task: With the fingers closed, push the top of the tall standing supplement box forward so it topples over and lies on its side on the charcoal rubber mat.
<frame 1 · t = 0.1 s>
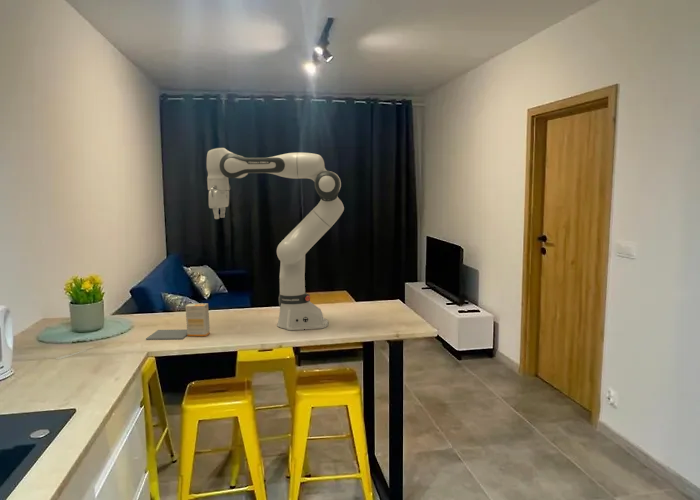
hand: (219, 218, 223), 48 cm above the worktop, tool pointing down, fingers open, 8 cm apart
supplement box: (198, 335, 215), on the worktop
rubber mat: (170, 335, 216), on the worktop
butter knife: (87, 351, 197), on the worktop
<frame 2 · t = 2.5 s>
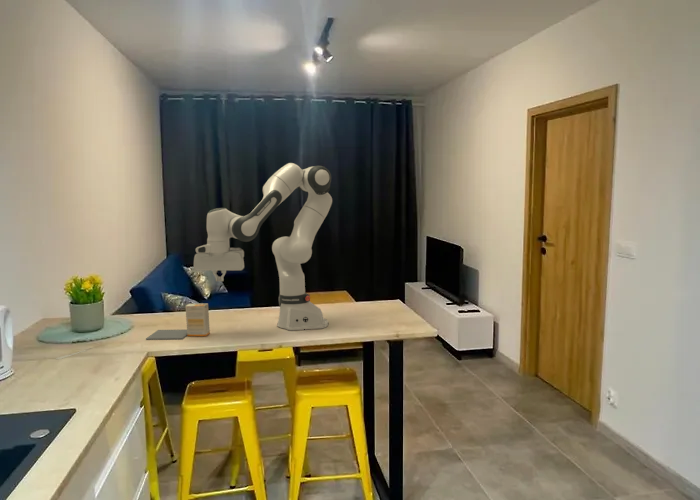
hand: (219, 281, 212), 23 cm above the worktop, tool pointing down, fingers closed
nothing on the worktop moved.
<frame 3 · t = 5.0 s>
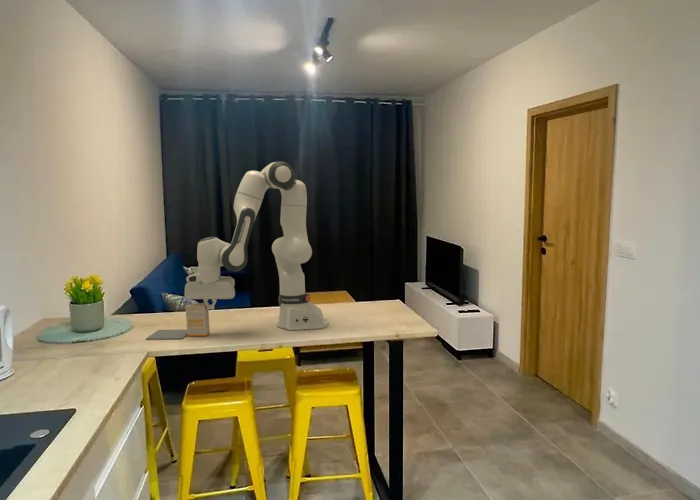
hand: (210, 309, 214), 11 cm above the worktop, tool pointing down, fingers closed
supplement box: (198, 335, 215), on the worktop, touching gripper
everything else where it was.
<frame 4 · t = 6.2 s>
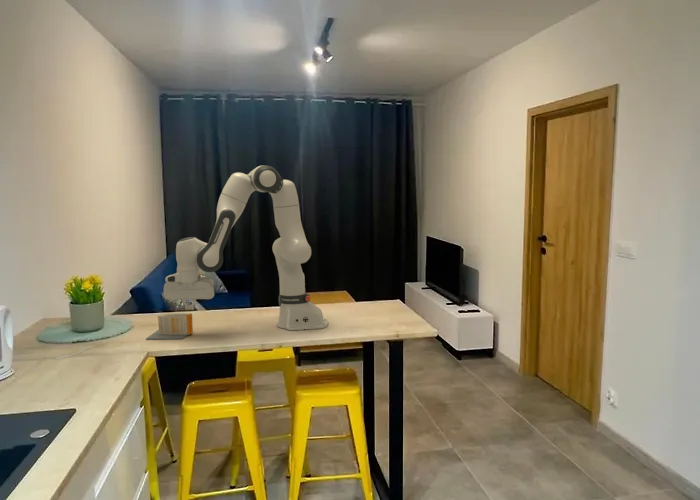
hand: (189, 309, 214), 11 cm above the worktop, tool pointing down, fingers closed
supplement box: (191, 324, 215), point 5 cm above the worktop, touching rubber mat
everything else where it was.
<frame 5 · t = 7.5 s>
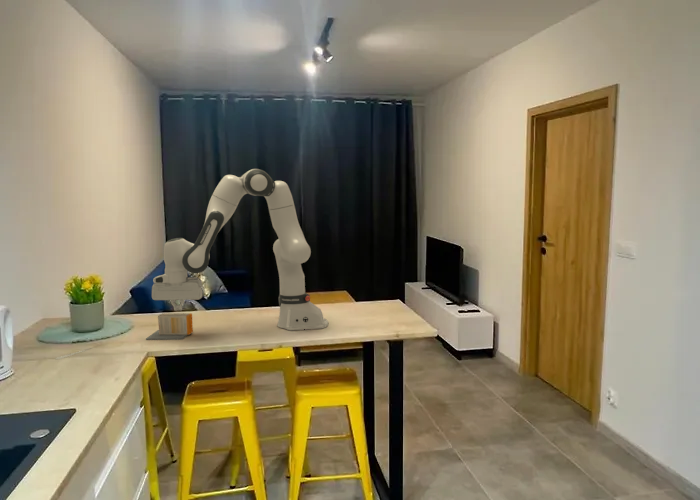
hand: (178, 310, 214), 11 cm above the worktop, tool pointing down, fingers closed
nothing on the worktop moved.
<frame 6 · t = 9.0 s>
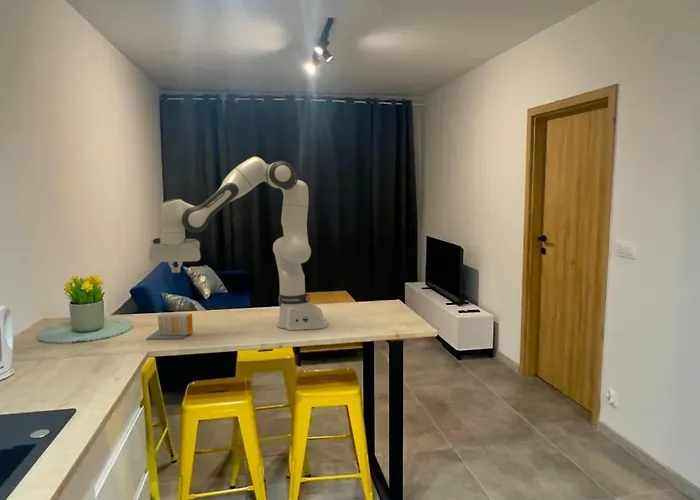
hand: (176, 272, 212), 27 cm above the worktop, tool pointing down, fingers closed
nothing on the worktop moved.
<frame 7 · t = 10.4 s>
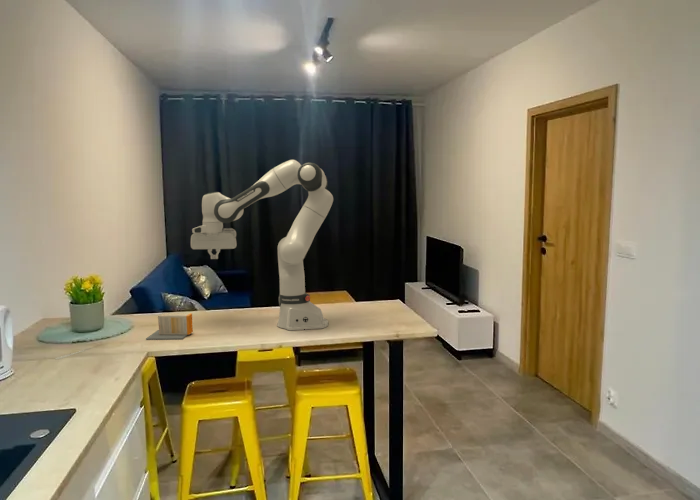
hand: (214, 258, 234), 29 cm above the worktop, tool pointing down, fingers closed
nothing on the worktop moved.
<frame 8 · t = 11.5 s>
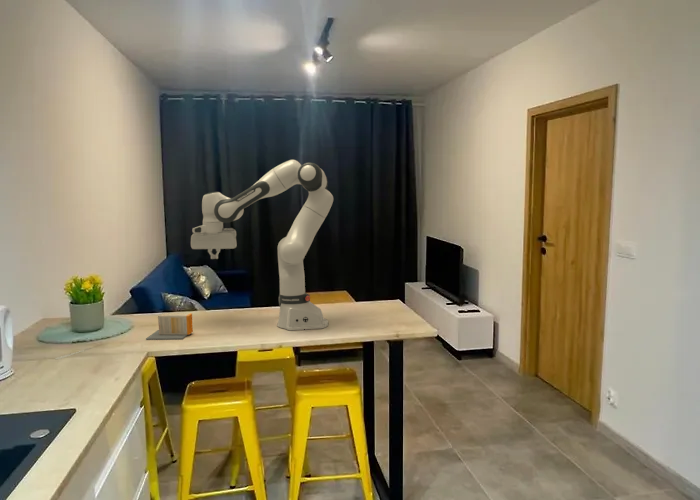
hand: (214, 258, 234), 29 cm above the worktop, tool pointing down, fingers closed
nothing on the worktop moved.
at the end: supplement box tilted 89°; supplement box inside the target area on the rubber mat (5.6 cm from its centre), point 4.6 cm above the rubber mat's base; supplement box touching rubber mat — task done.
